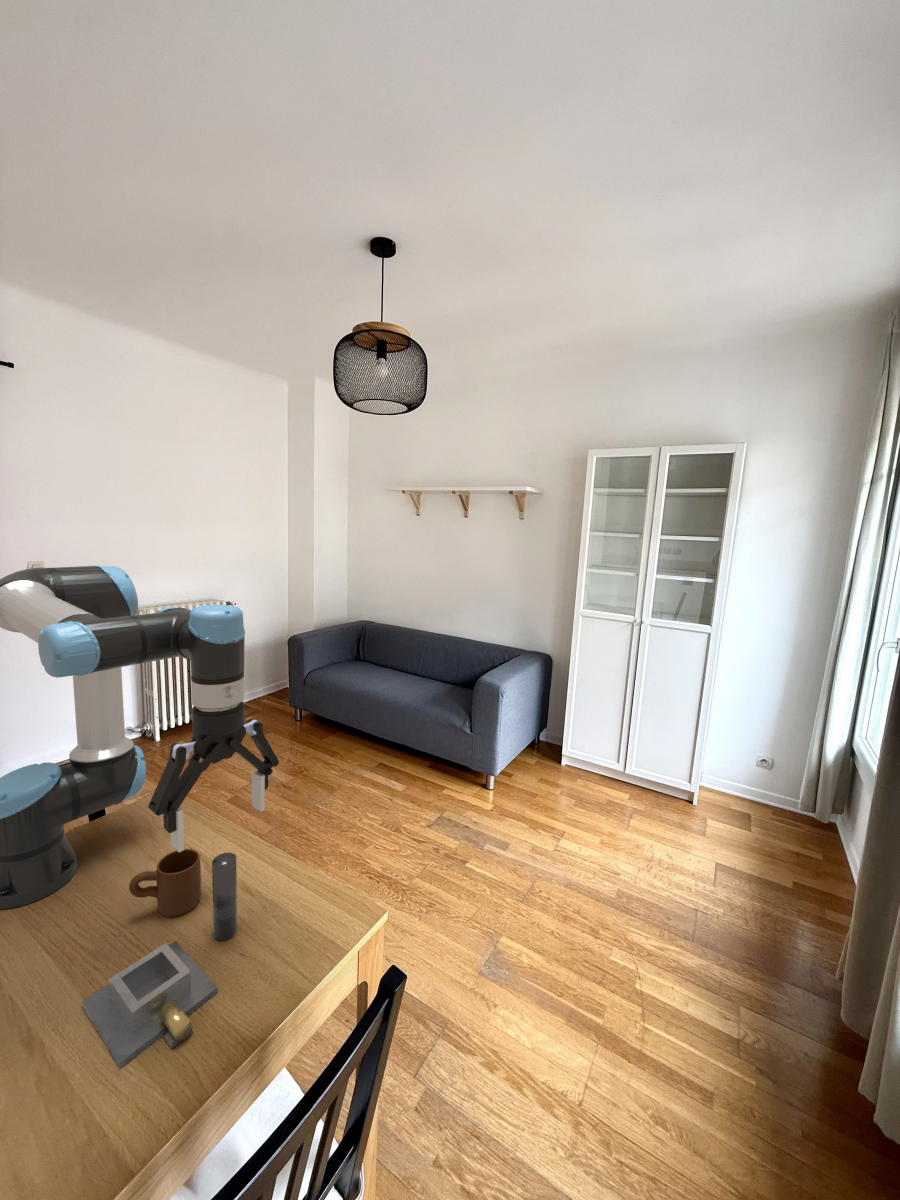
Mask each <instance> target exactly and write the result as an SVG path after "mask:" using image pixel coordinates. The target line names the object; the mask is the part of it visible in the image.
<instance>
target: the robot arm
mask: <svg viewBox="0 0 900 1200" xmlns="http://www.w3.org/2000/svg"><path fill="white" fill-rule="evenodd" d="M138 609H139V598H138V593H137V590H136V587H135V584H134V582H133V580H132V579H131V577H130V576H129V574H128V573H127V572H126V571H125V570H124V569H122V568H120V567H118V566H111V565H110V566H109V565H107V566H106V565H84V566H80V565H79V566H61V567H58V566H56V567H32V568H26V569H21V570H18V571H14V572H12V573H10V574H8V575H5V576H3V577H1V578H0V628H1V629H4V630H6V631H8V632H12V633H20V634H23V635H24V636H26V637H27V638H29V639H31V640H32V641H33V642H35V643H37V644H38V645H37V646H38V647H37V648H38V649H37V650H38V654H39V659H40V663H41V665H42V666H43V668H44V671H45V672H46V674H48V675H49V676H51V677H52V678H57V679H58V678H66V677H72V682H73V684H72V686H73V698H74V715H75V726H76V727H75V728H76V729H75V730H76V741H77V742H76V743H77V745H76V746H75V747H74V748H73V749H72V750H71V751H70V752H69V755H68V757H69V764H66V765H61V766H60V765H58V764H57V763H54V762H50V761H49V762H41V763H33V764H32V763H31V764H29V765H25V766H22V767H20V768H17V769H14V770H11V771H10V772H8V773H5V774H4V775H2V776H0V910H6V909H7V910H8V909H13V908H17V907H18V908H19V907H22V906H23V907H24V906H25V905H29V904H32V903H34V902H37V901H39V900H42V899H43V898H46V897H48V896H49V895H51V894H53V893H55V892H56V891H58V890H59V889H61V888H62V887H64V886H65V885H66V884H67V883H68V882H69V881H70V880H71V879H72V878H73V877H74V875H75V874H76V872H77V870H78V869H77V868H78V859H77V854H76V852H75V850H74V849H73V847H72V845H71V843H70V842H69V840H68V839H67V837H66V835H65V824H67V823H70V822H72V821H76V820H78V819H80V818H83V817H85V816H88V815H91V814H94V813H96V812H98V811H99V812H100V811H102V810H104V809H107V808H109V807H112V806H114V805H115V806H116V805H119V804H121V803H123V802H124V801H126V800H129V799H131V798H133V797H135V796H136V795H138V794H139V792H141V790H142V788H143V787H144V784H145V781H146V777H147V776H146V775H147V763H146V760H145V755H144V753H143V750H142V749H141V748H140V747H139V746H138V745H136V744H134V741H133V740H132V739H131V738H129V737H126V730H125V729H126V728H125V712H124V711H125V708H124V692H123V691H124V690H123V673H122V668H123V667H129V666H133V665H139V664H146V663H151V662H156V661H162V660H169V659H173V658H183V659H186V660H188V661H190V688H191V689H190V691H191V705H192V706H193V707H192V708H191V729H192V734H193V735H192V738H191V740H190V742H186V743H181V744H180V743H178V742H173V743H171V745H170V747H169V748H170V750H169V758H168V761H167V763H166V765H165V767H164V769H163V772H162V774H161V776H160V779H159V781H158V784H157V786H156V788H155V789H154V792H153V794H152V796H151V799H150V801H149V803H148V805H147V808H148V809H149V810H150V811H151V812H152V813H153V814H154V815H155V816H161V815H163V817H162V819H163V821H162V822H163V828H164V830H165V831H166V832H167V833H169V840H170V846H171V847H172V848H173V849H175V851H176V850H177V851H178V852H181V851H183V850H184V849H185V837H184V835H185V834H184V833H185V832H184V810H183V809H182V808H180V807H181V805H182V803H183V802H184V801H185V799H186V797H188V794H189V793H190V792H191V790H192V788H193V787H194V786H195V784H196V783H197V781H198V779H199V778H200V776H201V775H202V774H203V772H205V771H207V769H208V768H209V767H210V765H211V764H213V765H214V764H215V765H216V764H217V763H220V762H221V761H223V760H228V759H231V758H233V756H234V754H237V755H239V756H240V757H241V758H242V759H244V761H247V763H249V764H250V765H251V766H253V767H254V769H256V770H253V771H251V807H253V808H254V809H256V810H257V811H259V812H264V811H265V808H266V806H265V805H266V804H265V801H266V799H265V798H266V794H265V792H266V791H265V790H268V788H269V776H271V775H272V773H273V771H274V770H273V769H272V768H273V767H277V766H278V765H279V764H280V762H279V761H280V760H279V759H278V757H277V756H276V753H275V752H274V749H273V748H272V747H271V745H270V743H269V741H268V739H267V738H266V736H265V734H264V730H263V723H262V722H260V721H258V720H256V719H254V718H249V719H248V720H247V723H246V719H245V718H246V716H245V714H246V713H245V711H246V710H245V709H246V708H245V702H244V700H245V643H246V642H245V637H246V629H245V625H244V624H245V623H244V612H243V610H242V609H241V608H240V607H238V606H236V605H233V604H232V605H231V604H219V603H217V604H204V605H203V604H202V605H198V606H195V607H194V608H192V609H190V608H185V607H178V606H177V607H176V606H169V607H164V608H161V609H160V610H157V611H156V612H153V613H145V614H138ZM246 734H247V735H249V736H250V738H251V740H252V742H253V743H254V745H255V746H256V748H257V750H258V751H259V753H260V754H261V756H262V758H263V759H264V760H263V761H262V759H260V758H259V757H257V756H256V755H255V754H254V753H252V751H250V750H249V749H248V748H247V747H246V746H245V745H243V744H242V742H243V740H244V738H245V737H246ZM191 752H193V754H192V755H191V757H190V754H191ZM200 759H201V761H200ZM187 760H188V764H187V766H186V767H185V765H186V764H185V763H186V761H187ZM184 768H185V769H184Z"/></svg>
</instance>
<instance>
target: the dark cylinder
mask: <svg viewBox="0 0 900 1200" xmlns="http://www.w3.org/2000/svg"><path fill="white" fill-rule="evenodd" d="M211 874H212V875H211V876H212V877H211V878H212V882H211V883H212V886H211V887H212V929H213V930H212V931H213V935H212V936H213V939H214V940H215V941H217V942H226V941H229V940H230V939H231V938H233V937H234V936H235V935H236V933H237V930H238V916H237V915H238V914H237V913H238V909H237V907H238V906H237V905H238V902H237V899H238V897H237V896H238V895H237V894H238V893H237V890H238V888H237V883H238V882H237V855H236V854H235V853H234V852H224V853H221V854H218V855H216V856H215V857H214V858H213V859H212V861H211Z"/></svg>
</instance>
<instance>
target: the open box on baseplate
mask: <svg viewBox="0 0 900 1200" xmlns="http://www.w3.org/2000/svg"><path fill="white" fill-rule="evenodd" d="M217 994H218V986H217V985H216V984H215V983H214V982H213V981H212V980H211V979H210V977H209V976H208V975H207V974H206V973H205V972H204V970H202V969H201V967H200V966H199V965H198V964H197V963H196V962H195V961H194V959H192V957H191V956H190V955H189V954H188V953H187V951H185V950H184V948H183V947H182V946H181V945H180V944H179V943H178V942H177V941H176V940H175V941H173V942H171V943H170V944H168V943H166V942H165V943H163V944H162V945H160V946H159V947H157V948H156V949H154V950H153V951H151V952H149V953H148V954H146V955H144V956H142V957H141V958H140V959H138V960H137V961H135V962H134V963H132V964H130V965H129V966H127V967H126V968H124V969H123V970H121V971H119V972H117V973H116V974H115V975H113V976H111V977H110V978H109V979H108V984H106V985H105V986H102V988H100V989H99V990H97V991H95V992H94V993H92V994H90V995H89V996H88V997H86V998H84V999H83V1000H81V1007H82V1009H83V1010H84V1012H85V1013H86V1015H87V1017H88V1018H89V1019H90V1021H91V1023H92V1025H93V1027H94V1028H95V1030H96V1032H97V1033H98V1035H99V1037H100V1038H101V1040H102V1042H103V1043H104V1046H105V1047H106V1049H107V1050H108V1052H109V1053H110V1055H111V1057H112V1058H113V1060H114V1062H115V1063H116V1065H117V1067H118V1069H122V1068H123V1067H124V1066H125V1065H127V1064H128V1063H129V1062H131V1061H132V1060H133V1059H134V1058H136V1057H137V1056H138V1055H139V1054H141V1053H142V1052H143V1051H144V1050H145V1049H147V1048H148V1047H150V1046H151V1045H152V1044H154V1043H155V1042H156V1041H157V1040H159V1039H160V1038H161V1037H163V1036H164V1041H165V1042H166V1045H168V1046H169V1048H170V1049H171V1050H173V1049H174V1048H175V1047H177V1046H178V1045H179V1044H180V1043H181V1042H182V1041H183V1040H186V1039H187V1038H188V1037H189V1036H190V1035H192V1033H193V1026H192V1025H193V1023H192V1021H191V1019H190V1018H189V1017H188V1016H189V1015H191V1014H192V1013H193V1012H194V1011H196V1010H197V1009H199V1008H200V1007H201V1006H203V1004H205V1003H206V1002H207V1001H209V1000H210V999H211V998H213V997H214V996H215V995H217Z"/></svg>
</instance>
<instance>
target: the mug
mask: <svg viewBox="0 0 900 1200" xmlns="http://www.w3.org/2000/svg"><path fill="white" fill-rule="evenodd" d="M200 857H201V856H200V853H199V852H198V851H196V850H195V849H192V848H184V850H183V851H181V852H178V851H177V850H176V849H175V850H174V851H172V852H169V853H167V854H166V855H164V856H163V857H162V858H161V859H160V860H159V862H158V863H157V864H156V870H153V871H152V870H149V871H148V870H146V871H145V870H144V871H142V872H139V873H137V874H136V875H135V876H134V877H132V878H131V880H130V883H129V885H128V890H129V893H130V894H131V895H132V896H133V897H136V898H141V899H142V898H147V897H153V898H156V901H157V902H156V903H157V909H158V912H159V913H160V914H161V915H162V916H163V917H170V918H171V917H172V918H174V917H178V916H181V915H184V914H186V913H188V912H190V911H192V910H193V909H194V908H195V907H196V906H197V905H198V903H199V902H200V899H201V895H202V872H201V870H202V869H201V868H202V867H201V866H202V865H201V859H200ZM144 881H146V882H148V881H151V882H153V881H154V882H156V885H149V886H145V887H142V886H140V885H139V884H140V883H141V882H144Z"/></svg>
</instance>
